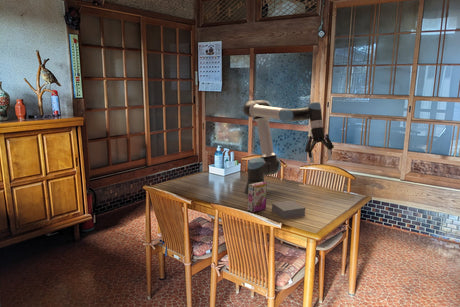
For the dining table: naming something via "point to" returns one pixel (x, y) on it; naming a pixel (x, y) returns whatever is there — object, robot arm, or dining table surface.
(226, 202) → the dining table surface
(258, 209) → the candy bar box
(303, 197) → the dining table surface
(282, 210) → the block
